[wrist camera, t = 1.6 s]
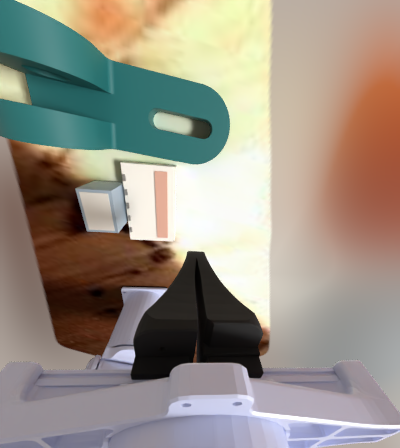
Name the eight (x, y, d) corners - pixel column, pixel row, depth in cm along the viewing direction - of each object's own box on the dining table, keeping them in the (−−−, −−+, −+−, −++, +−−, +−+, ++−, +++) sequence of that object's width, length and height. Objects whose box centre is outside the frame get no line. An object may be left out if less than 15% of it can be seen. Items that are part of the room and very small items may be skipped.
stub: (129, 219, 22) (117, 233, 19) (102, 217, 22) (86, 231, 18) (124, 182, 20) (110, 191, 16) (94, 180, 19) (74, 188, 16)
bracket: (56, 134, 17) (-35, 130, 10) (40, 50, 14) (-103, -36, 7) (217, 166, 20) (231, 181, 13) (232, 99, 17) (262, 69, 10)
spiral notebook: (175, 236, 24) (174, 241, 22) (133, 234, 23) (130, 239, 22) (176, 165, 19) (175, 167, 18) (124, 161, 19) (119, 162, 17)
